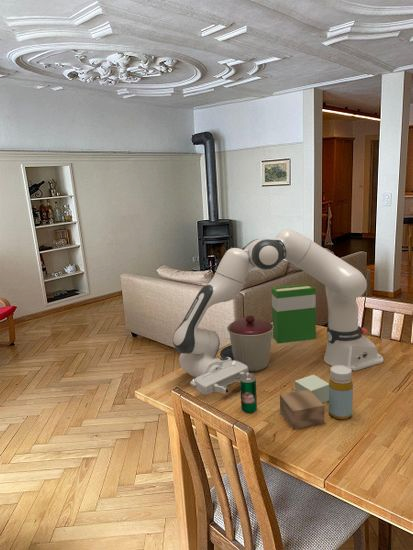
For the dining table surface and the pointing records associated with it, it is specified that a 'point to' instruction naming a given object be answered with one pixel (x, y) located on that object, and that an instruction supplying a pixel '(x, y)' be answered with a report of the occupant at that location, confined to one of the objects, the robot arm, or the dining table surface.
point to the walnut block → (302, 409)
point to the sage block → (314, 387)
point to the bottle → (340, 392)
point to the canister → (251, 341)
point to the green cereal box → (294, 313)
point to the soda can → (248, 393)
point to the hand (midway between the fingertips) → (237, 385)
